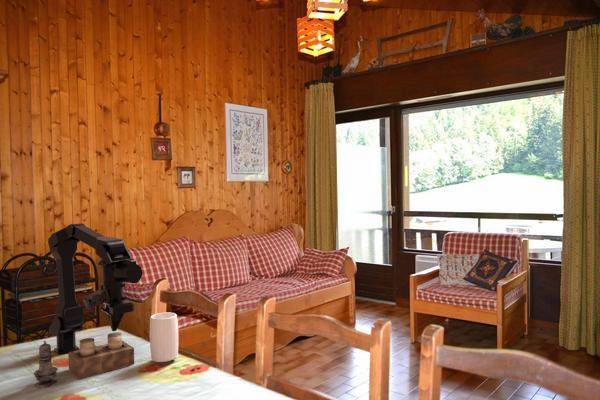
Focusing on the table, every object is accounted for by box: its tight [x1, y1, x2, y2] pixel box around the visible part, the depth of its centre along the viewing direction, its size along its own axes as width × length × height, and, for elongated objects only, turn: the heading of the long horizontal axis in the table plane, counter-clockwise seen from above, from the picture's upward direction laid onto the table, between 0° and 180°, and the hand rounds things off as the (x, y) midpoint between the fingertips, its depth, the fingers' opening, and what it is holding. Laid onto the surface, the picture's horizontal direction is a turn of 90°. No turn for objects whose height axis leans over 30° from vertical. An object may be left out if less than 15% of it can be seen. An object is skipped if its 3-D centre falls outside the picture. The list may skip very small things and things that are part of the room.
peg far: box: [107, 331, 123, 350], centre depth 141 cm, size 4×4×5 cm
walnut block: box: [67, 340, 135, 380], centre depth 139 cm, size 16×10×5 cm, turn 131°
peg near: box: [79, 337, 95, 357], centre depth 136 cm, size 4×4×5 cm
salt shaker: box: [33, 340, 58, 389], centre depth 127 cm, size 6×6×12 cm
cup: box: [149, 311, 179, 363], centre depth 142 cm, size 8×8×14 cm
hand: (114, 330), depth 141 cm, fingers closed
